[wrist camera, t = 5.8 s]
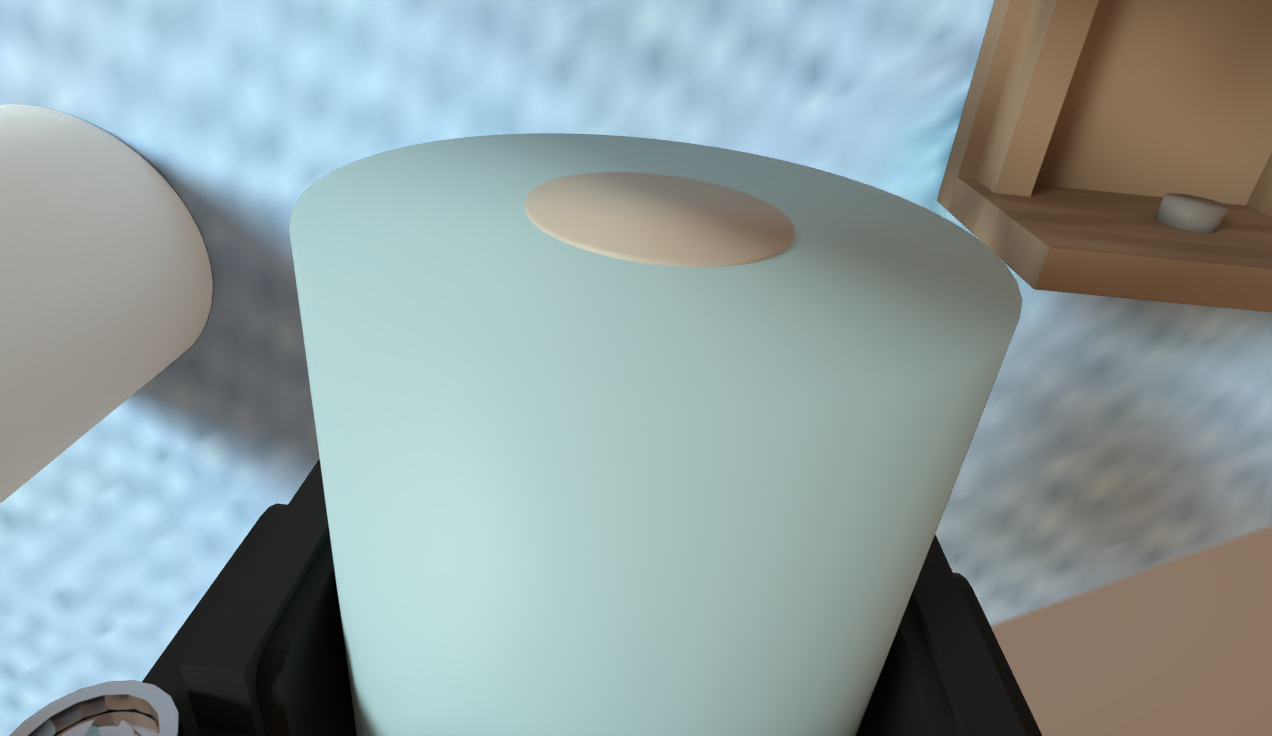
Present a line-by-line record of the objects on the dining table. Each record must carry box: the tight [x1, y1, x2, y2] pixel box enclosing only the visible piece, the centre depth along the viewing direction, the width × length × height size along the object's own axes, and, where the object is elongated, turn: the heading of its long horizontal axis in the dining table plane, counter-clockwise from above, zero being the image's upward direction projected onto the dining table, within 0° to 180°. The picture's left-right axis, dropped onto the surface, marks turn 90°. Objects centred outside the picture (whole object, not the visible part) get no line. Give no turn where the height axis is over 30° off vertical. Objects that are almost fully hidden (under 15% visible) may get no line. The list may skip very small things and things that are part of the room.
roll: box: [289, 134, 1022, 736], centre depth 9 cm, size 10×6×6 cm, turn 174°
